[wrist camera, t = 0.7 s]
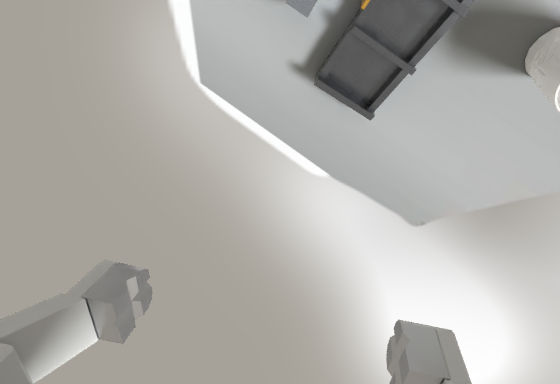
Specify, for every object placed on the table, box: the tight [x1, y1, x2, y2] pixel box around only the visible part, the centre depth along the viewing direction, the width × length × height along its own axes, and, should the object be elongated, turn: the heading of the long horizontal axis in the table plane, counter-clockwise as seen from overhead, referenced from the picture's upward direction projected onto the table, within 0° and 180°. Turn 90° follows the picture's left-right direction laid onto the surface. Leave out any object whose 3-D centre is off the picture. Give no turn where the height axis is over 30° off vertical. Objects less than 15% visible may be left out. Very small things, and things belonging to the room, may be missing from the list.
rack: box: [314, 0, 474, 120], centre depth 38 cm, size 25×10×6 cm, turn 151°
